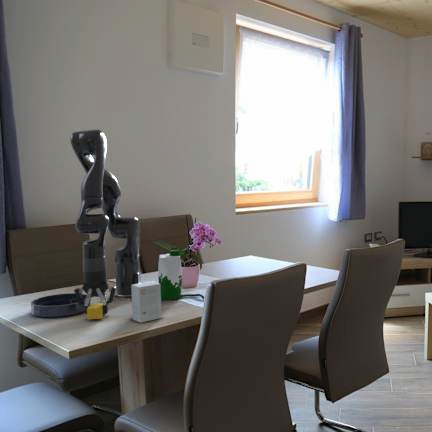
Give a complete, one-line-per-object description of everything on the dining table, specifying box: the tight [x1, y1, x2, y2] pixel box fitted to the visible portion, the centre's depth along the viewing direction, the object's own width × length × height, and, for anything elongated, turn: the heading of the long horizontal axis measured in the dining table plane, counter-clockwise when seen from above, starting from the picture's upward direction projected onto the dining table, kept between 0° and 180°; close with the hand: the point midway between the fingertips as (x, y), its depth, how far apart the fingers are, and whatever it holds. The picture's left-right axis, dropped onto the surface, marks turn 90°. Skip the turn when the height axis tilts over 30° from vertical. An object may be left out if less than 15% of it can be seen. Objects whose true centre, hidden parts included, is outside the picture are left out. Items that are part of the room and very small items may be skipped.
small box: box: [131, 280, 163, 324], centre depth 199 cm, size 8×6×13 cm
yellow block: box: [86, 302, 105, 320], centre depth 200 cm, size 7×5×4 cm, turn 14°
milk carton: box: [157, 249, 183, 301], centre depth 229 cm, size 9×9×20 cm
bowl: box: [30, 292, 87, 318], centre depth 208 cm, size 19×19×4 cm
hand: (96, 314), depth 200 cm, fingers closed on yellow block, 4 cm apart
